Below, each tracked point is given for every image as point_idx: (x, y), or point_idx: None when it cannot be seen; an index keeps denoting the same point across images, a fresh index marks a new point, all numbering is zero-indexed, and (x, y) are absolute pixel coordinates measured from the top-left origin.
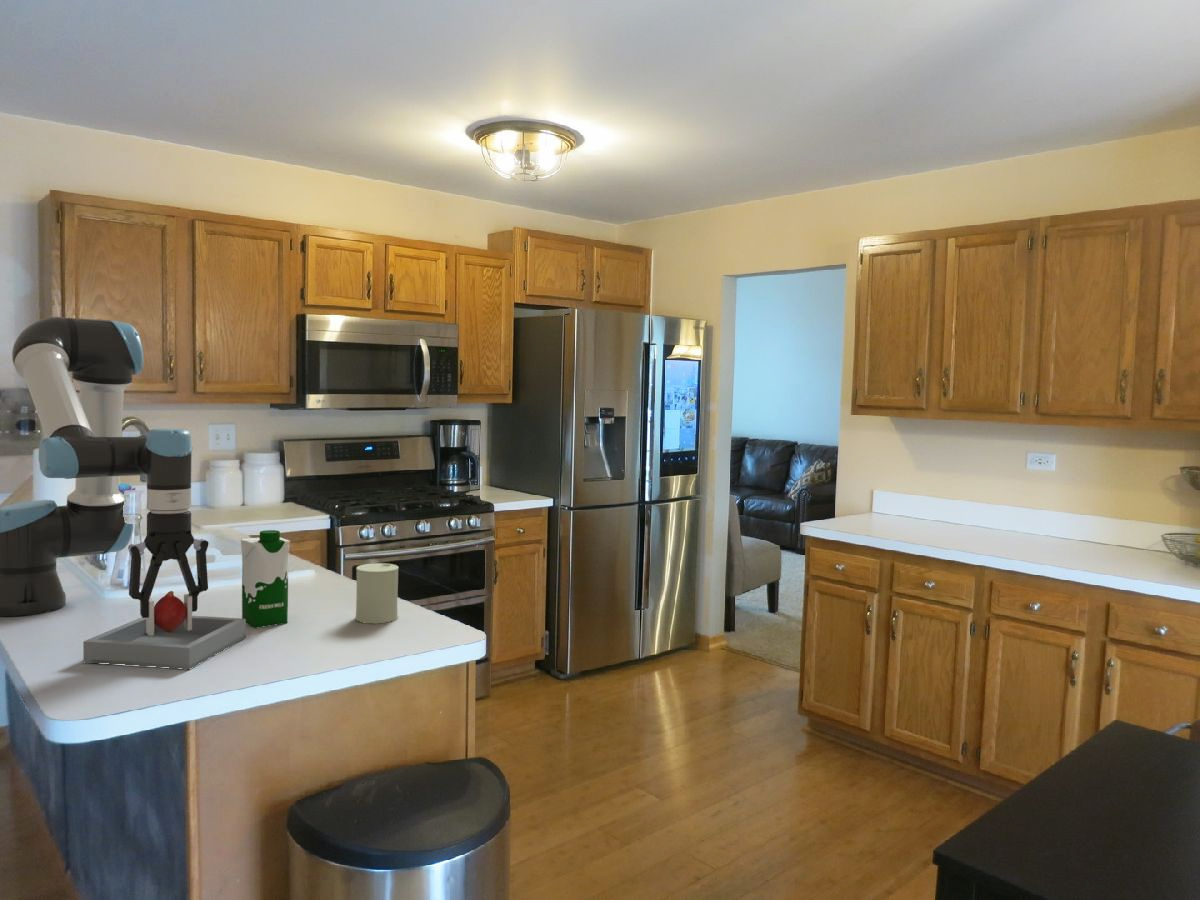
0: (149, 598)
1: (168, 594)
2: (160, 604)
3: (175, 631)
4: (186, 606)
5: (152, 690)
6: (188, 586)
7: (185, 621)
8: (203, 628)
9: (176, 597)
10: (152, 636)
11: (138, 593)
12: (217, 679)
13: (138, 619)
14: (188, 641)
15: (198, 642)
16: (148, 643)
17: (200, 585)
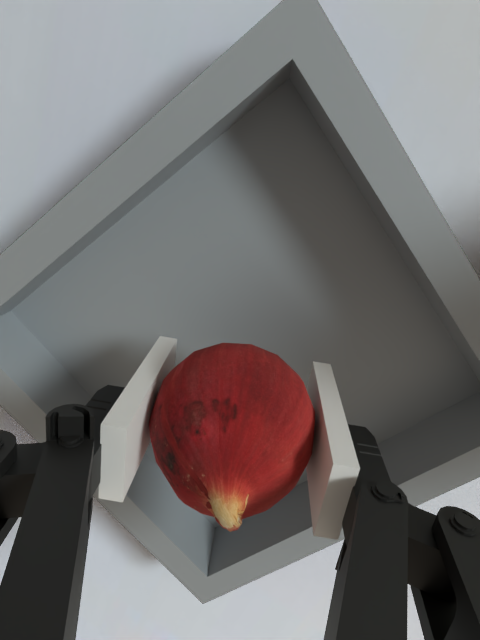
0: (91, 509)
1: (211, 509)
2: (168, 479)
3: (350, 176)
4: (313, 466)
5: (95, 598)
6: (337, 578)
7: (310, 398)
8: (427, 291)
9: (259, 502)
10: (248, 172)
11: (5, 529)
12: (235, 627)
13: (193, 99)
14: (321, 343)
15: (248, 578)
16: None
17: (425, 583)
